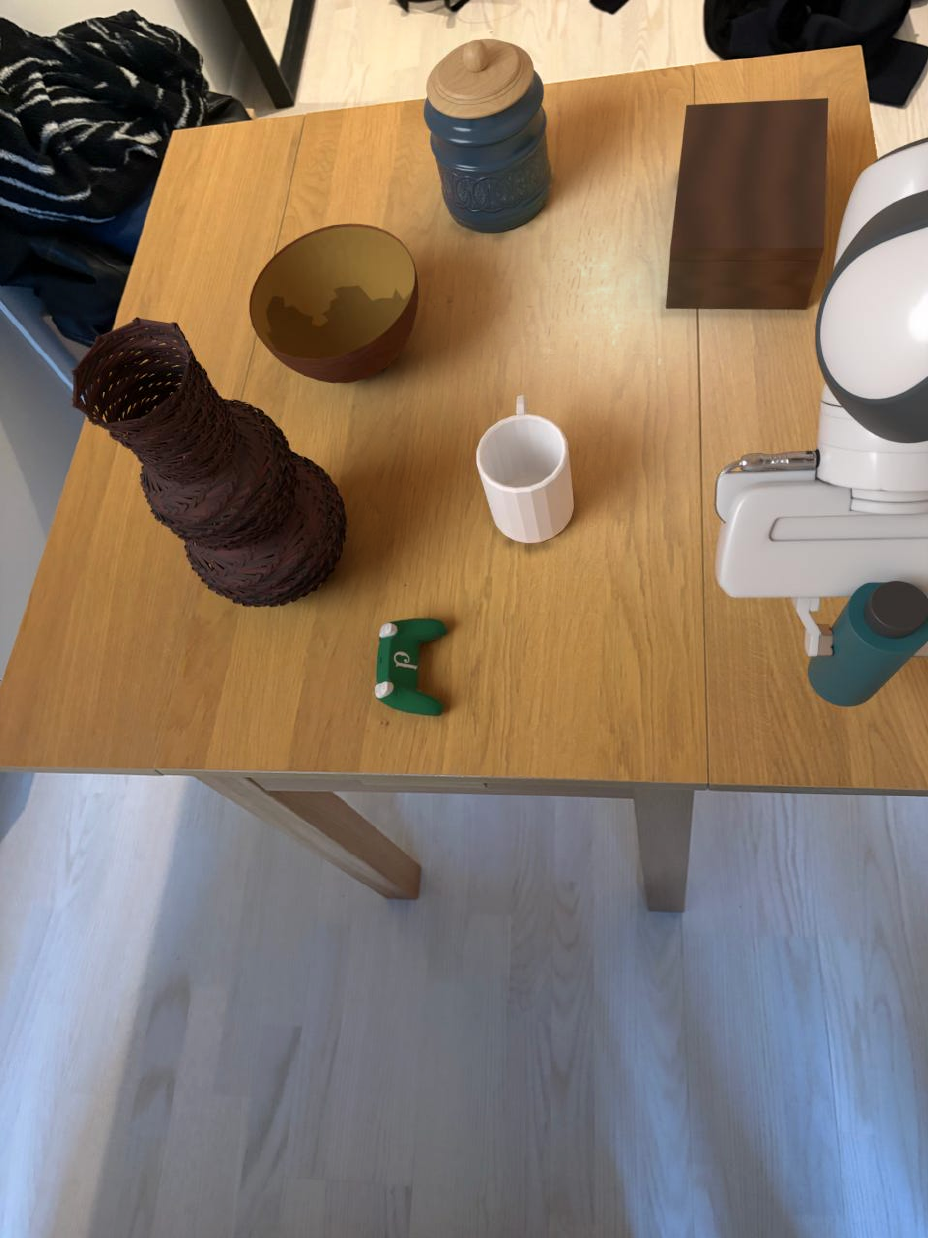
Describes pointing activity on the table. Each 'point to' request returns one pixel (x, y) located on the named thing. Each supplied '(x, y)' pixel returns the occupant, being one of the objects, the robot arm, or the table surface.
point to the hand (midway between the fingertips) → (868, 653)
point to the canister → (489, 135)
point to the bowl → (337, 302)
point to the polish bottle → (871, 642)
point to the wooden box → (749, 205)
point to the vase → (214, 468)
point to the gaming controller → (405, 665)
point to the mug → (526, 475)
